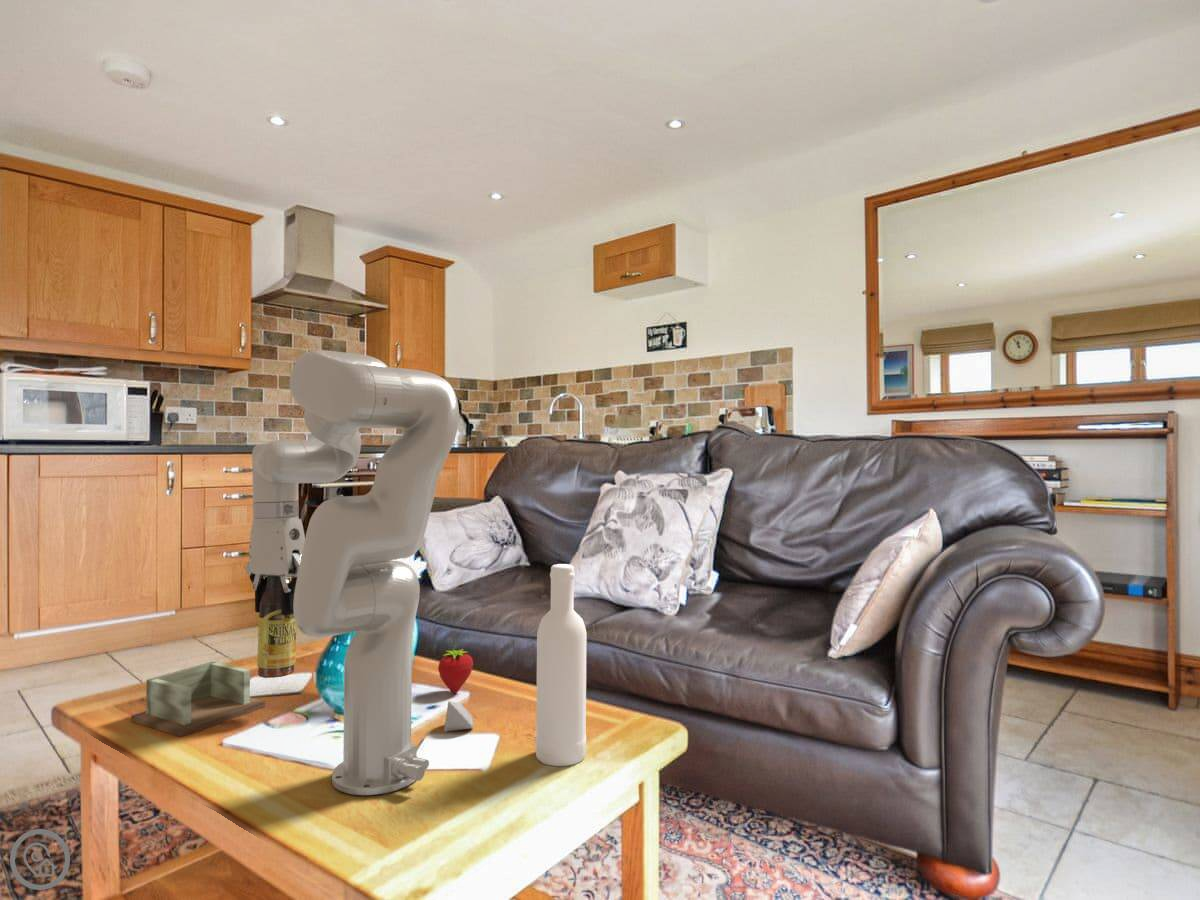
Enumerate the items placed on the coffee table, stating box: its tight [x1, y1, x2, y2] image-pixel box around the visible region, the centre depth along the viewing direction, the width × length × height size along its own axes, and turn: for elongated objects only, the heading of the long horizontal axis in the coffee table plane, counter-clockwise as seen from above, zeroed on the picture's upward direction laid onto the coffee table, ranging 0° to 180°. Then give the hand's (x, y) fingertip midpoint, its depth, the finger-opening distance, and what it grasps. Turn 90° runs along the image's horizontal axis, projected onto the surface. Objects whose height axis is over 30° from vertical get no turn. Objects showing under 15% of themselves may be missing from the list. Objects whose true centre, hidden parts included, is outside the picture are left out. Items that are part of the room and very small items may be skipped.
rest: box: [130, 661, 266, 738], centre depth 130 cm, size 14×16×7 cm
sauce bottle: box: [256, 571, 297, 679], centre depth 129 cm, size 7×6×20 cm
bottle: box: [535, 563, 588, 767], centre depth 113 cm, size 8×8×30 cm
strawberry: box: [437, 643, 474, 694], centre depth 142 cm, size 6×8×10 cm
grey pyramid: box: [443, 700, 474, 733], centre depth 124 cm, size 6×6×5 cm
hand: (276, 611), depth 129 cm, fingers closed on sauce bottle, 6 cm apart
